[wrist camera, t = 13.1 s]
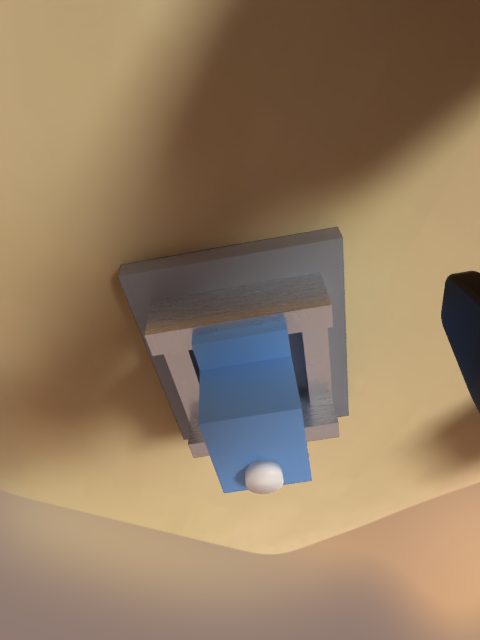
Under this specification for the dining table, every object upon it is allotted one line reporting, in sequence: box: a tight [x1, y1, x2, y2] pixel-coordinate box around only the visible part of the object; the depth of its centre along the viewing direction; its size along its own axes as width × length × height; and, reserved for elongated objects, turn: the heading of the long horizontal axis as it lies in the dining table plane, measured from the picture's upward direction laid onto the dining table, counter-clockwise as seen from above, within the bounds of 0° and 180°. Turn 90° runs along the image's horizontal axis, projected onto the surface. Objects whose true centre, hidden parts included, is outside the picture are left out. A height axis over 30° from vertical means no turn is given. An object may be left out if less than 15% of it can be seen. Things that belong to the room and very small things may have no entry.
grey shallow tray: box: [118, 227, 349, 458], centre depth 23 cm, size 10×12×4 cm
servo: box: [192, 320, 312, 494], centre depth 21 cm, size 4×8×7 cm, turn 10°
